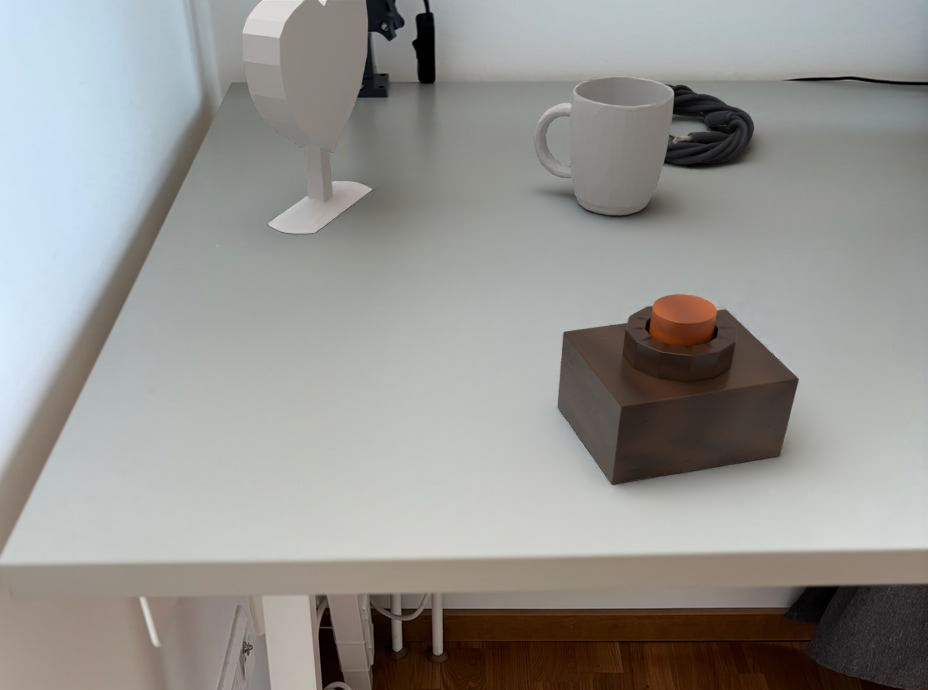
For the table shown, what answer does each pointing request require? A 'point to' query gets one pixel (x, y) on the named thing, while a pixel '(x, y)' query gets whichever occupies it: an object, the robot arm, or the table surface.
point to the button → (683, 320)
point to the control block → (673, 398)
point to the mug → (612, 141)
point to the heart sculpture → (308, 91)
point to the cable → (708, 143)
